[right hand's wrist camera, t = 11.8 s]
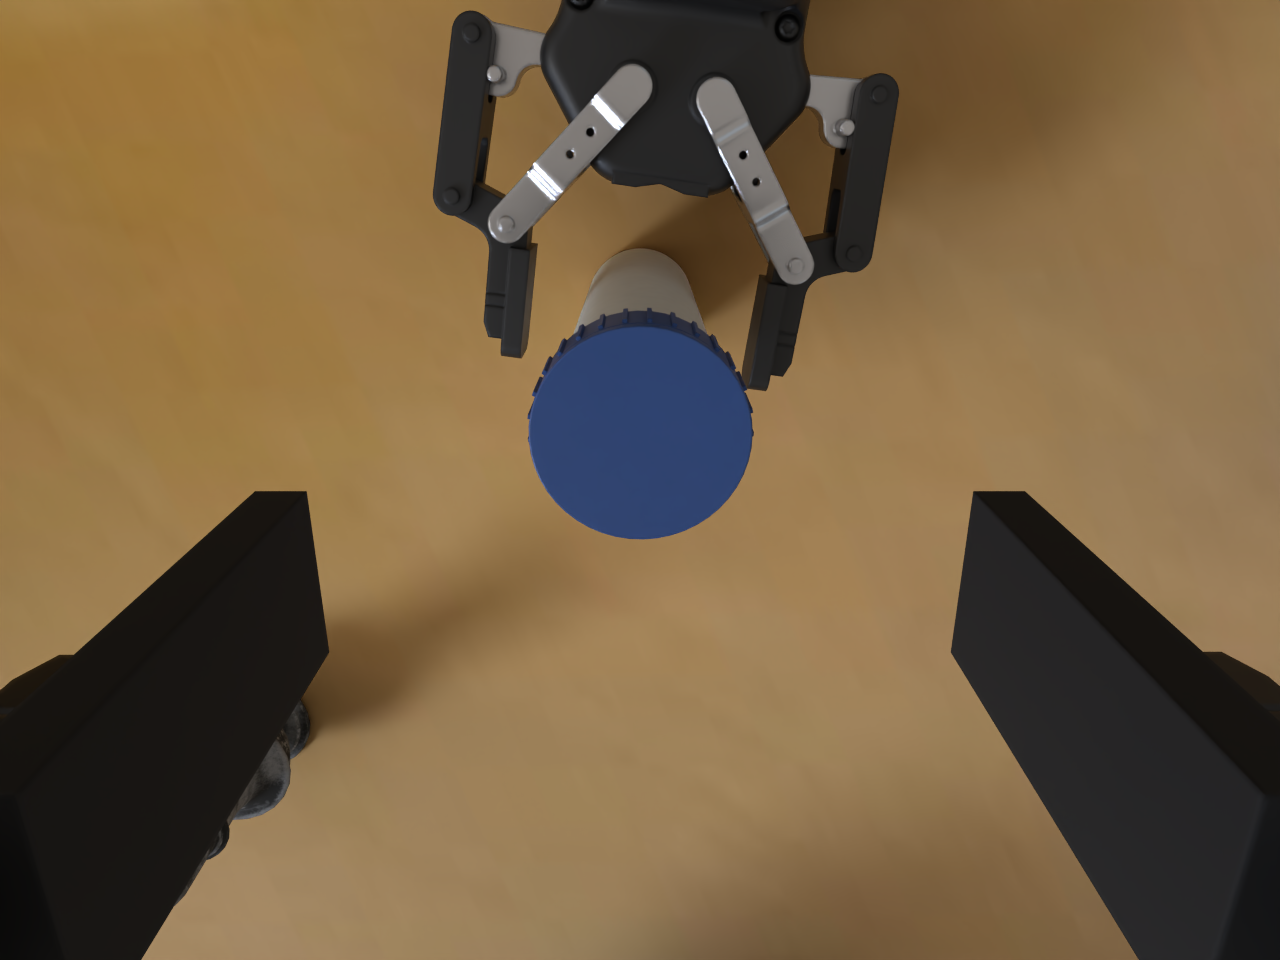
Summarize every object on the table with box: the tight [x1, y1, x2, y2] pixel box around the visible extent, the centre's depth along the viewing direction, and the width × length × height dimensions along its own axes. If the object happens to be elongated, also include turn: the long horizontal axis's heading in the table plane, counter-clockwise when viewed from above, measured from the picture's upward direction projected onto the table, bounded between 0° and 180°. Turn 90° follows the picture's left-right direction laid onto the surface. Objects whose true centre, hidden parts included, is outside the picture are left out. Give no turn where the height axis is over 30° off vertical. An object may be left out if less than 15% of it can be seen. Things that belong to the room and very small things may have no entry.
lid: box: [528, 308, 754, 539], centre depth 21 cm, size 5×5×2 cm
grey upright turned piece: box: [174, 700, 310, 906], centre depth 38 cm, size 6×6×12 cm
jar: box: [574, 248, 707, 334], centre depth 29 cm, size 4×4×18 cm
